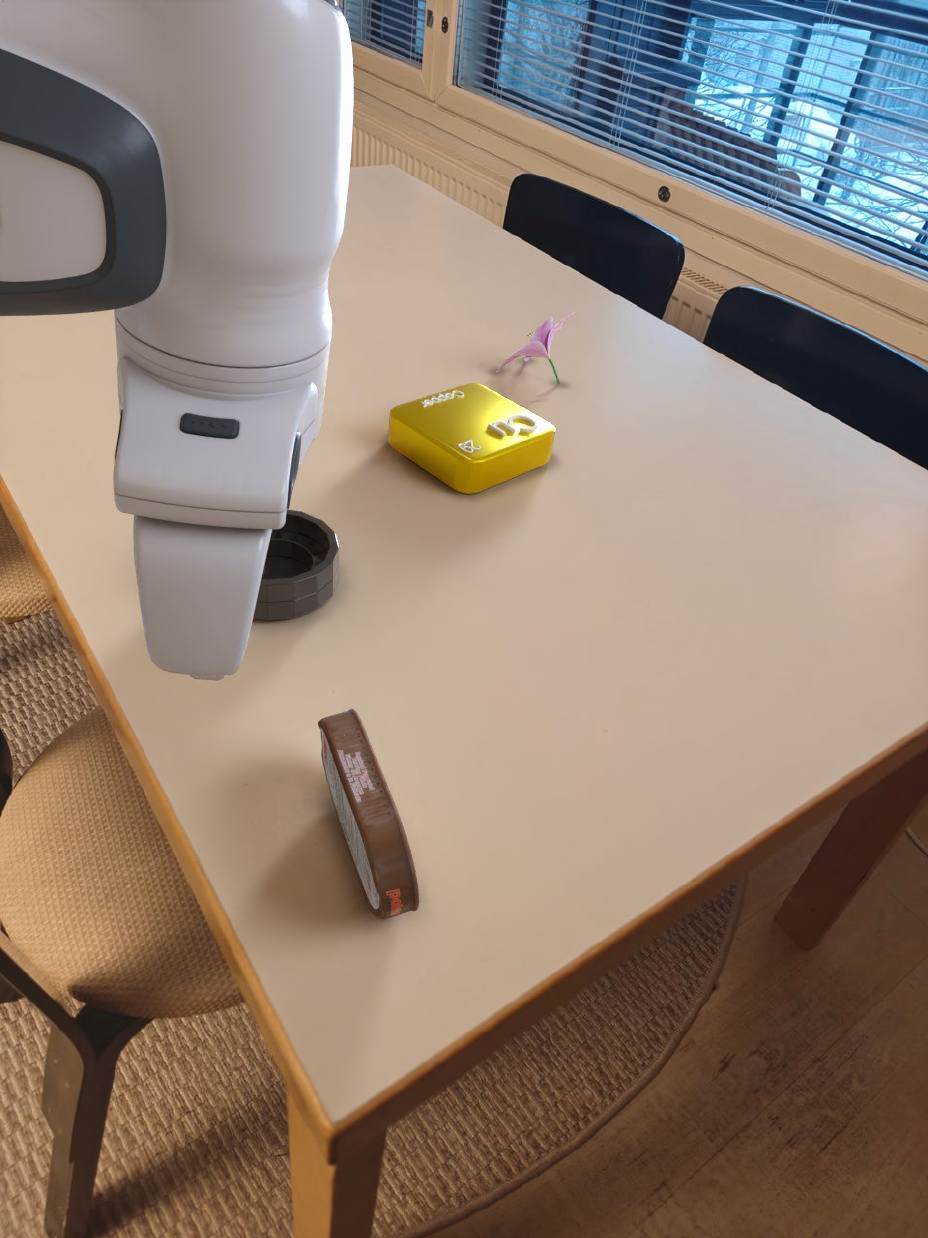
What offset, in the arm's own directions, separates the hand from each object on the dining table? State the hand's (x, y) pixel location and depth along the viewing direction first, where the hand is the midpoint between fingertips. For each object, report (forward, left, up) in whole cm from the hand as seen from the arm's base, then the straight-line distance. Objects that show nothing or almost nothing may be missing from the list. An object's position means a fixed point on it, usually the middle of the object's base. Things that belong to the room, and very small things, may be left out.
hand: (218, 607), depth 47 cm
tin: (+8, -3, -20) cm, 22 cm away
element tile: (+30, +49, -20) cm, 61 cm away
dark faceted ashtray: (+5, +27, -20) cm, 34 cm away
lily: (+45, +69, -20) cm, 84 cm away
